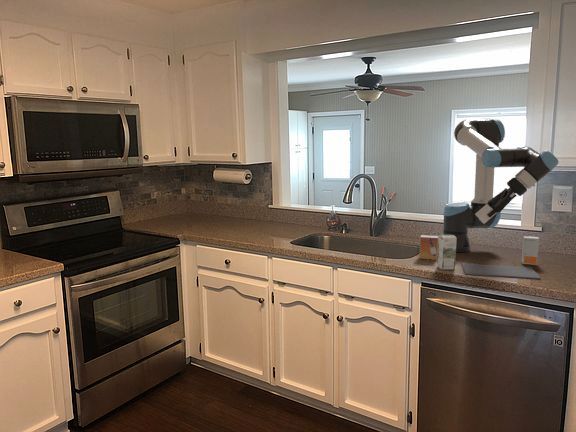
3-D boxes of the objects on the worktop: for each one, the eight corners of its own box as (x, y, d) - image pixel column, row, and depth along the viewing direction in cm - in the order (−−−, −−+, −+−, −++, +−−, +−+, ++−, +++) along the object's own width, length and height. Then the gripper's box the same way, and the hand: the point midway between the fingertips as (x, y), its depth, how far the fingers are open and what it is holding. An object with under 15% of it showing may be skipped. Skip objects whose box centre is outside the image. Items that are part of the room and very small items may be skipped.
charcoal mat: (461, 264, 207) (461, 263, 207) (531, 268, 200) (531, 267, 200) (465, 274, 192) (465, 273, 192) (540, 279, 185) (540, 277, 185)
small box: (419, 259, 218) (419, 236, 217) (420, 256, 224) (420, 234, 222) (437, 260, 216) (438, 237, 214) (437, 257, 221) (438, 235, 219)
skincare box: (522, 264, 207) (524, 237, 205) (521, 261, 211) (523, 235, 209) (537, 265, 205) (539, 238, 203) (536, 263, 209) (538, 236, 207)
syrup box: (450, 266, 205) (451, 234, 202) (455, 270, 199) (456, 236, 197) (437, 266, 204) (438, 234, 202) (442, 270, 199) (443, 237, 196)
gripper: (535, 192, 176) (490, 230, 182) (521, 187, 200) (481, 220, 206) (520, 178, 177) (476, 216, 183) (508, 174, 200) (469, 208, 207)
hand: (479, 219), depth 194 cm, fingers open, 13 cm apart
